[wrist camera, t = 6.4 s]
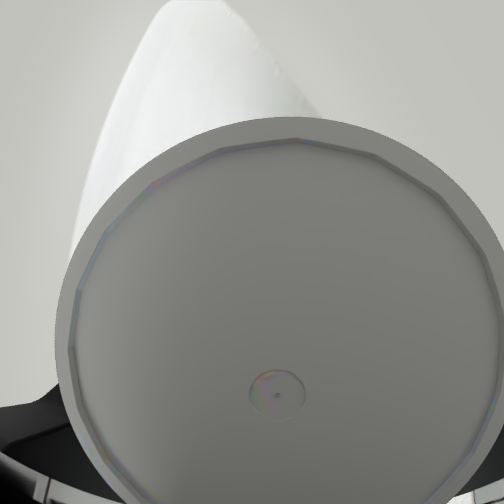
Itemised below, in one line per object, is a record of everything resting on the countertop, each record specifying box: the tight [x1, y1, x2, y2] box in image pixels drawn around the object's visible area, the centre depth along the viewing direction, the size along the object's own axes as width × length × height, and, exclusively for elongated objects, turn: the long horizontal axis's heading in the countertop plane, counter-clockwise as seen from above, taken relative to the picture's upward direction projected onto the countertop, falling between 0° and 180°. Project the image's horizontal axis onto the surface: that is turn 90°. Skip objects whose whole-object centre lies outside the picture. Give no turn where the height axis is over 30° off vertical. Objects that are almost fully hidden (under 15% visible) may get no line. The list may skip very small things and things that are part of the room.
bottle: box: [55, 117, 504, 504], centre depth 10 cm, size 7×7×15 cm
